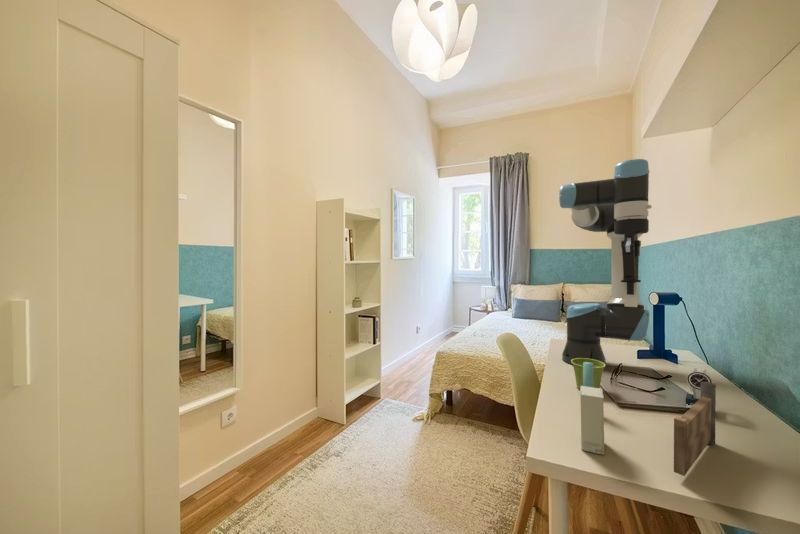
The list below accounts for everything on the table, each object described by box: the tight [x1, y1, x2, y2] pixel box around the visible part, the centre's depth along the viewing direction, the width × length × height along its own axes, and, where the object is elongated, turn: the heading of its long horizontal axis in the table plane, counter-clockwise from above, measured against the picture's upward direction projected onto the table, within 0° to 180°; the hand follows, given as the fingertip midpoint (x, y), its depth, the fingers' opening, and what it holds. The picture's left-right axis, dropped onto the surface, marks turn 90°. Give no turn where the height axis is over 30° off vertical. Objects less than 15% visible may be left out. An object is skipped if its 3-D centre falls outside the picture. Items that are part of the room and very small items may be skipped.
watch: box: [685, 367, 715, 405], centre depth 87 cm, size 6×8×11 cm
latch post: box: [583, 362, 593, 387], centre depth 87 cm, size 2×2×13 cm
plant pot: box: [571, 358, 607, 390], centre depth 102 cm, size 9×9×9 cm
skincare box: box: [579, 386, 605, 456], centre depth 71 cm, size 6×4×12 cm
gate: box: [673, 382, 717, 477], centre depth 66 cm, size 22×2×13 cm, turn 126°
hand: (630, 306), depth 87 cm, fingers closed
